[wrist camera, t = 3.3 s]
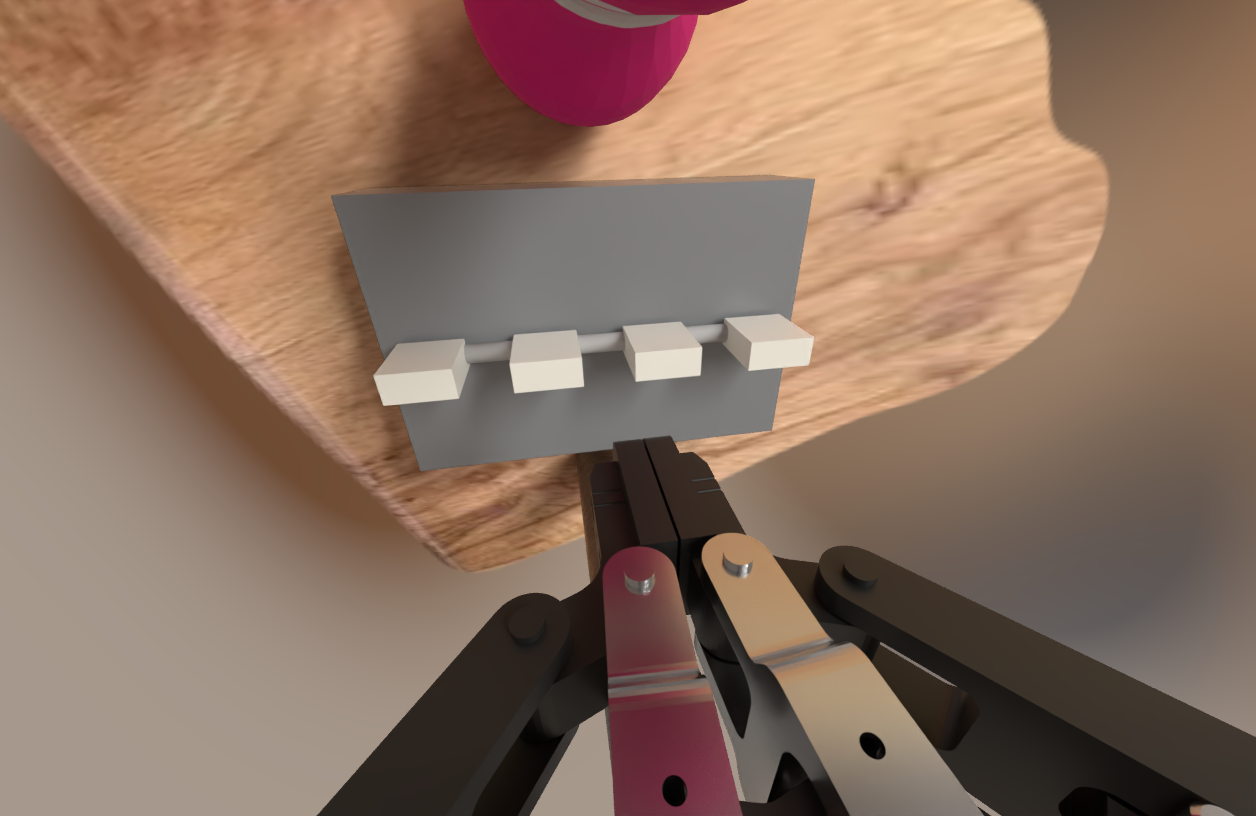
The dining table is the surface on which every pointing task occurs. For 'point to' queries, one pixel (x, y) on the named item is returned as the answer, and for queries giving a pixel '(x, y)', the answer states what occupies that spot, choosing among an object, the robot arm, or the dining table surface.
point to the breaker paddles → (558, 354)
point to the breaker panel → (578, 300)
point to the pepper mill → (586, 51)
